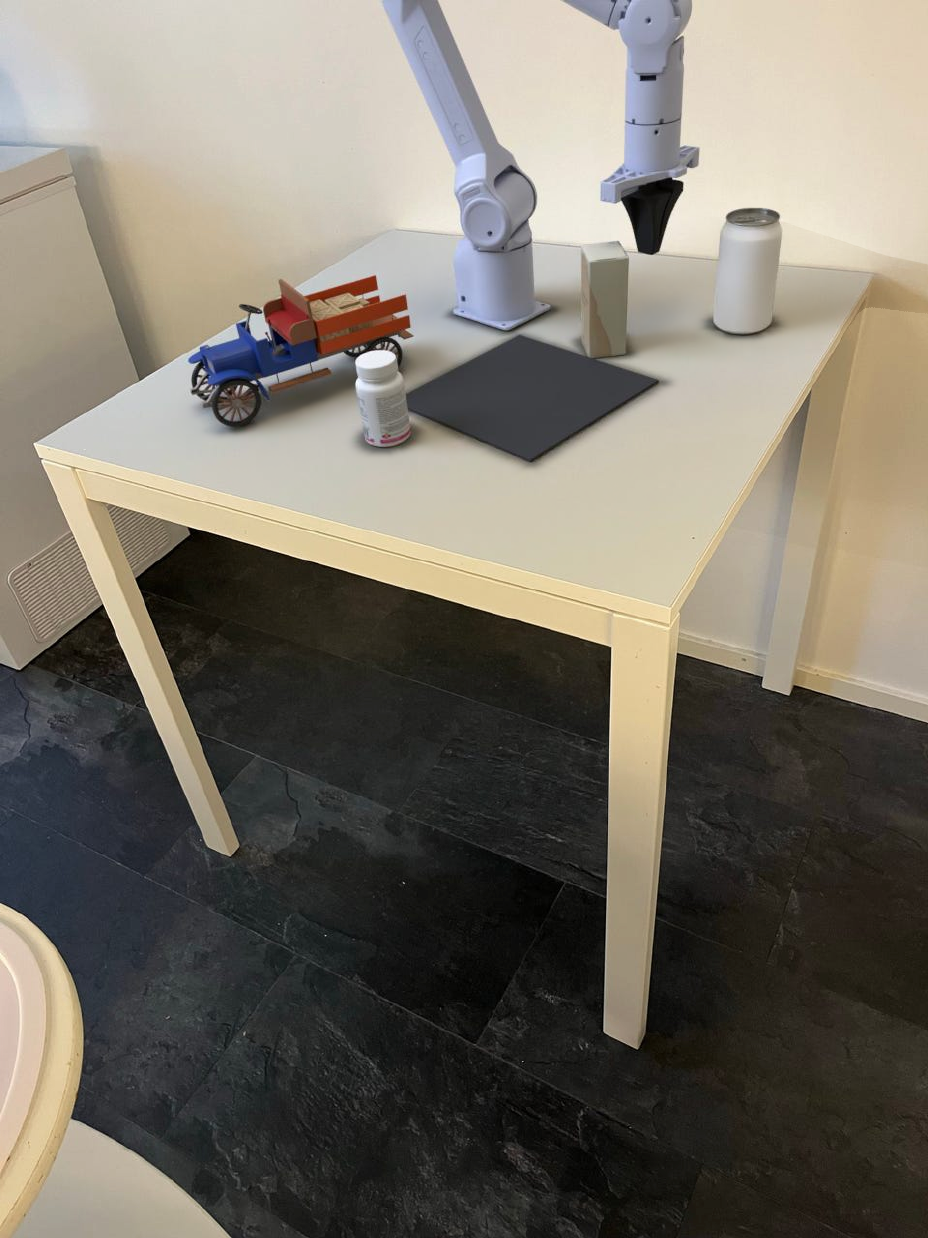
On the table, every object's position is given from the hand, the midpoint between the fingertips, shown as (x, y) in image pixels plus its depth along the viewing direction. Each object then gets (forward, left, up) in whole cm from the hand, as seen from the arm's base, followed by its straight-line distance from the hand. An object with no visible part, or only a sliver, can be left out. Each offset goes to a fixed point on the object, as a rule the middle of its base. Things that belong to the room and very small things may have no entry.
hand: (648, 251), depth 107 cm
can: (+9, +6, -9) cm, 14 cm away
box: (0, -8, -9) cm, 12 cm away
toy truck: (-21, -34, -9) cm, 41 cm away
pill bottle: (-5, -36, -9) cm, 37 cm away
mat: (0, -21, -8) cm, 23 cm away
